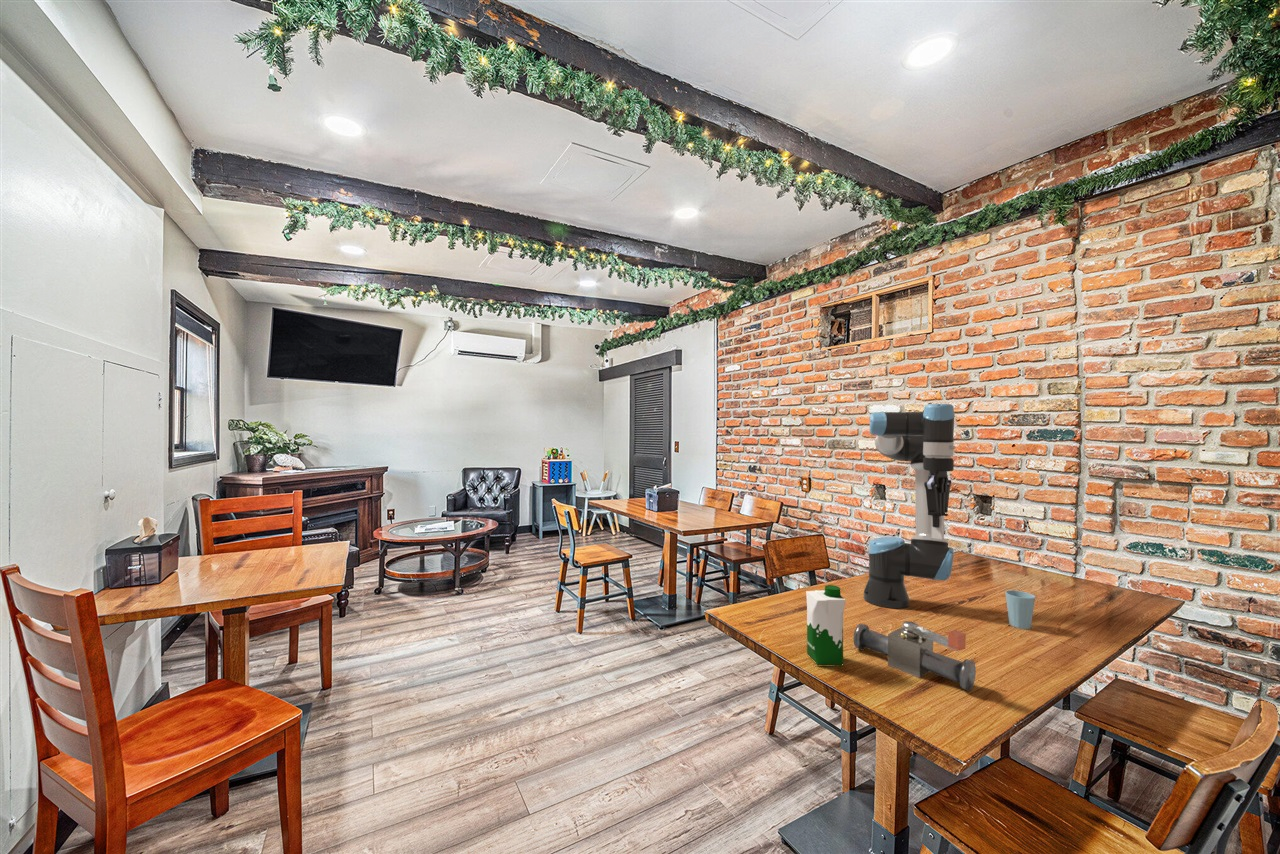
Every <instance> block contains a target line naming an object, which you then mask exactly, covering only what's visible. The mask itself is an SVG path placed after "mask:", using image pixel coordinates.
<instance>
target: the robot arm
mask: <svg viewBox="0 0 1280 854" xmlns="http://www.w3.org/2000/svg"><path fill="white" fill-rule="evenodd" d="M954 429H955V408H954V405H953V404H950V403H929V404H925V405H924V406H923V411H913V412H910V411H909V412H908V411H906V412H905V411H903V412H902V411H898V412H897V411H896V412H895V411H894V412H893V411H890V412H888V411H885V412H884V411H880V412H871V414H870V416H869V434H870V435H871V436H876V437H875V439H874V444H875V448H876V450H877V452H879V453H880V454H881V455H883V456H884V457H886V458H889V459H891V460H894V461H898V462H899V461H900V462H910V467H911V468H912V469H913V470H914V472H915V473H914V475H915V476H914V477H915V478H914V479H915V484H914V485H915V489H914V490H915V491H914V492H915V499H914V501H915V505H914V507H915V534H914V535H913V536H912V537H911V538H910V542H908V543H906V542H905V540H904V538H901V537H895V536H883V537H877V538H873V539H872V540H870V541H869V545H868V546H869V547H868V548H869V549H868V578H867V582H866V584H865V588H864V590H863V599H864V601H866V602H867V603H869V604H871V605H874V606H878V607H883V608H889V609H904V608H907V607H909V606H910V597H909V594H908V591H907V588H906V585H905V577H911V578H912V577H913V578H920V579H928V580H933V581H935V580H937V581H947V580H948V579H950V576H951V575H952V569H953V564H954V548H953V547H950V546H949V541H948V540H947V539H945V517H948V516H949V513H948V512H949V511H948V509H949V501H950V492H951V486H952V480H951V479H949V477H948V472H952V471H954V469H955V466H954V465H955V463H954V462H955V460H954V459H953V458H952V457H954V455H955V454H954V450H956V446H955V445H954V441H955V440H954V439H955V438H954V437H955V436H954V435H955V434H954V433H955V432H954Z"/></svg>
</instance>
